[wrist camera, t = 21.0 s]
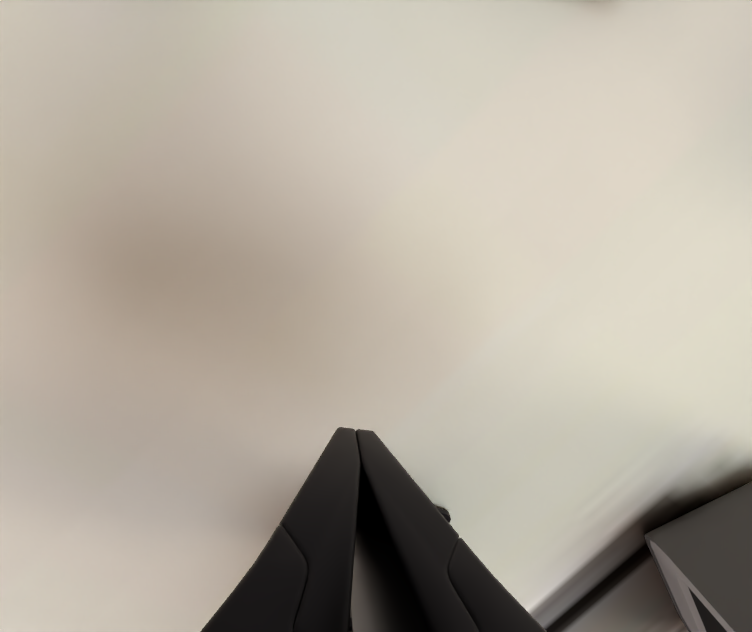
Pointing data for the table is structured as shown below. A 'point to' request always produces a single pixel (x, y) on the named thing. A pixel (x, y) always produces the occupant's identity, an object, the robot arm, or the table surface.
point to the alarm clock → (709, 563)
